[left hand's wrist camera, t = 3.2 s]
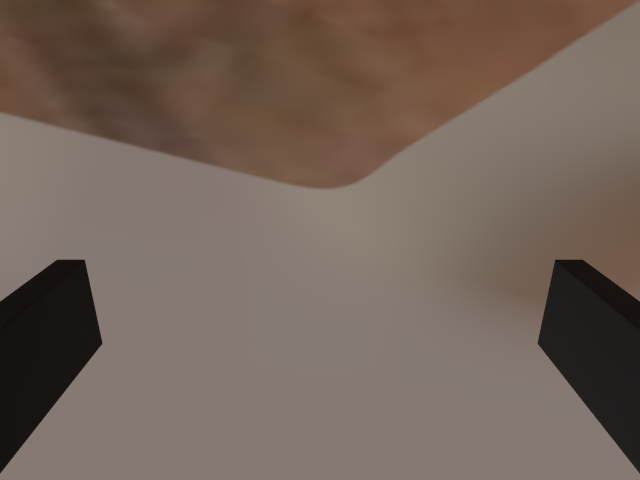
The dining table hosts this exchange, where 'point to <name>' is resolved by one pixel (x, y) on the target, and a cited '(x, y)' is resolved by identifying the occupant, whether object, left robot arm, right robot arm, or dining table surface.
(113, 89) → the dining table surface
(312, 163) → the dining table surface
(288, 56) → the dining table surface
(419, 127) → the dining table surface
